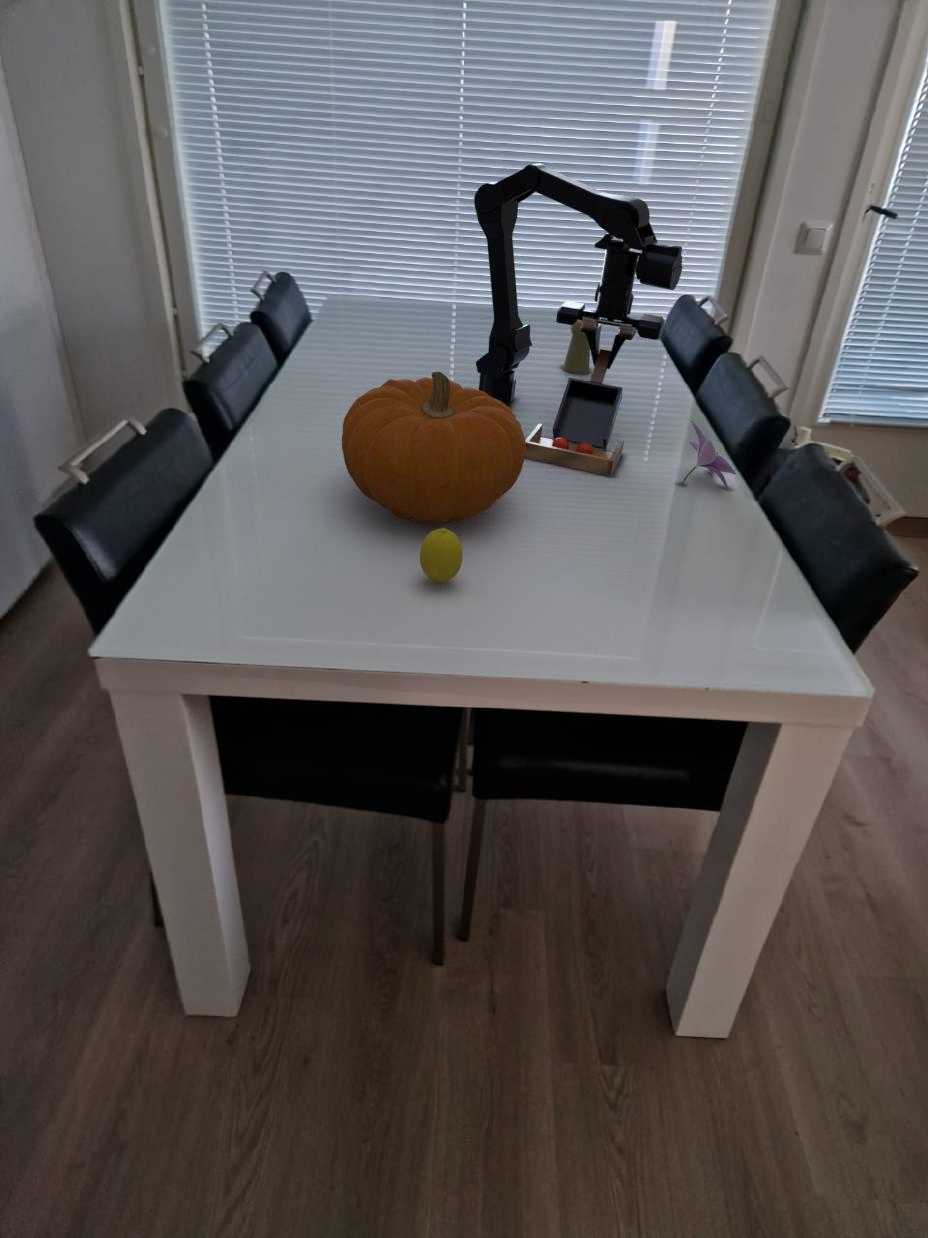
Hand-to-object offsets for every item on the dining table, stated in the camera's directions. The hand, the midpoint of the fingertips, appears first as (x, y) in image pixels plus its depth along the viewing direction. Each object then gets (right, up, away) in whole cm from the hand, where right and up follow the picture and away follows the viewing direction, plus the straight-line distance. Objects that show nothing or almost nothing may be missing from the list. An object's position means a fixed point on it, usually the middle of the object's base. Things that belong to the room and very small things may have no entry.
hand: (602, 367), depth 154 cm
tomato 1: (-9, -16, -7) cm, 20 cm away
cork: (0, +10, +36) cm, 37 cm away
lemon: (-29, -42, -45) cm, 68 cm away
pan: (-2, -6, 0) cm, 7 cm away
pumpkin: (-31, -28, -25) cm, 49 cm away
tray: (-6, -18, -6) cm, 20 cm away
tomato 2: (-4, -17, -8) cm, 20 cm away
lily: (+15, -23, -11) cm, 30 cm away
